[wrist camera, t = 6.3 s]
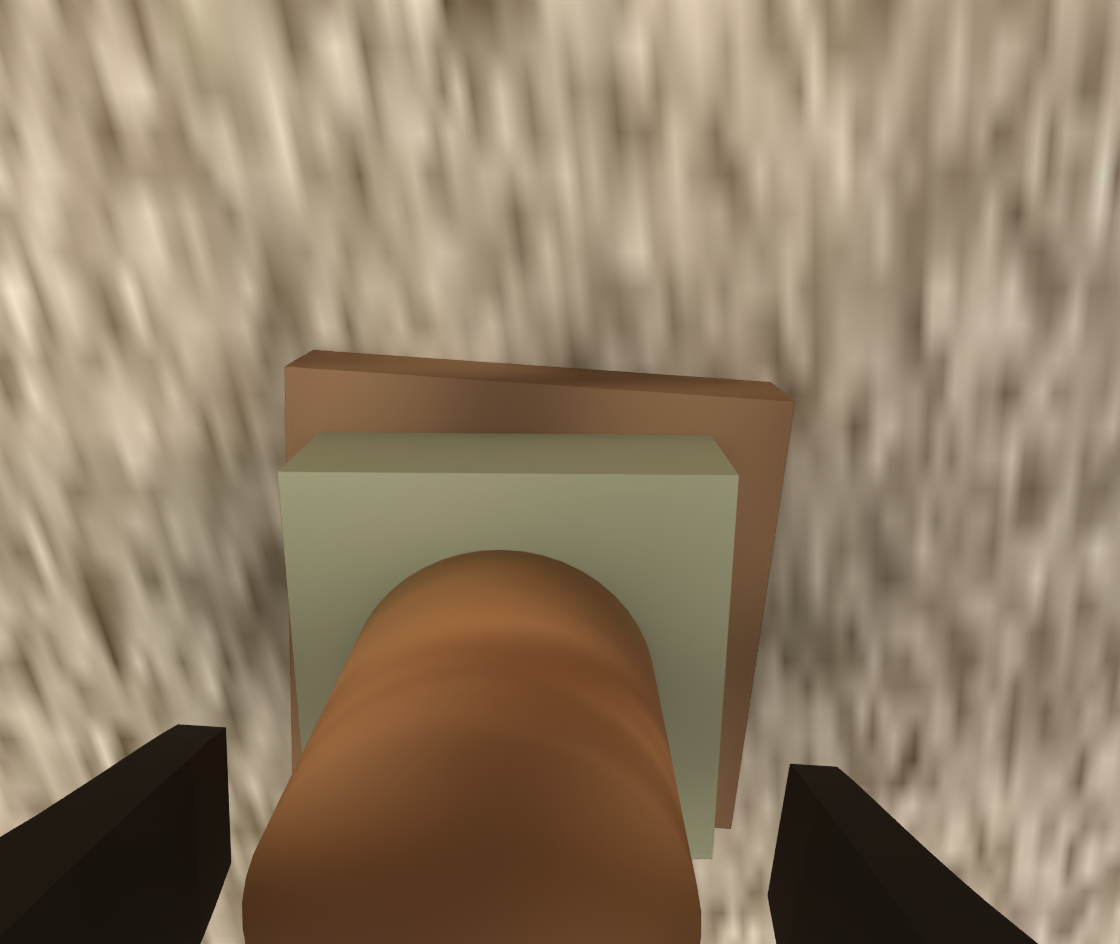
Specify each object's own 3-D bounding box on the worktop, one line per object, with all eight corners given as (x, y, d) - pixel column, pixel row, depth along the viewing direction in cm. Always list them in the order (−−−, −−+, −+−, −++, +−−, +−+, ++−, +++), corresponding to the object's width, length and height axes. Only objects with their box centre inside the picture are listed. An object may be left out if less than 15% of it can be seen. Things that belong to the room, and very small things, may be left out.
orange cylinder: (714, 646, 14) (793, 868, 9) (554, 867, 15) (550, 1163, 11) (442, 492, 13) (376, 648, 9) (297, 736, 15) (167, 991, 10)
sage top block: (711, 435, 16) (739, 475, 13) (691, 771, 18) (712, 858, 15) (320, 431, 16) (277, 472, 13) (344, 769, 18) (310, 857, 15)
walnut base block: (763, 376, 18) (794, 402, 16) (711, 756, 21) (731, 828, 18) (321, 345, 18) (284, 366, 15) (324, 733, 20) (292, 803, 18)
